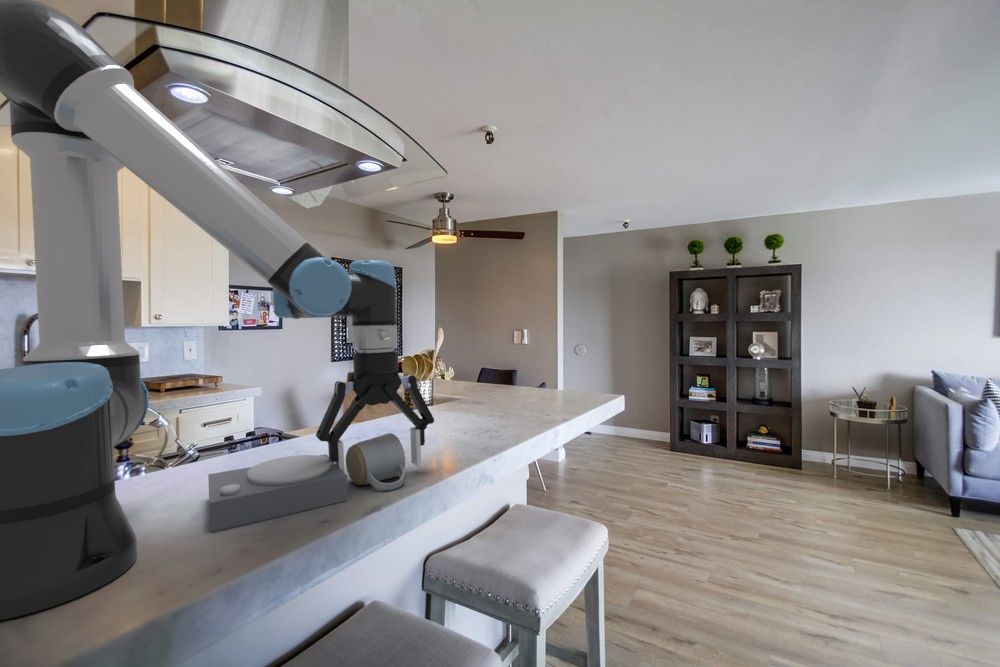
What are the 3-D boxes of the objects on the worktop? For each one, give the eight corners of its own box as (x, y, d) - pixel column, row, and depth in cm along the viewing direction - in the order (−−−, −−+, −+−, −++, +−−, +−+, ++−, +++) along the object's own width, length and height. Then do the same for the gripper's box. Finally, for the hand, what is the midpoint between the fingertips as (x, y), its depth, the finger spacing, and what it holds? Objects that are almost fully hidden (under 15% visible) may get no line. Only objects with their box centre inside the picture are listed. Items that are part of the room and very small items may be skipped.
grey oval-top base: (210, 532, 61) (209, 495, 60) (209, 498, 73) (208, 467, 72) (347, 500, 71) (346, 469, 70) (326, 475, 82) (325, 448, 82)
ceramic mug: (343, 481, 79) (342, 438, 79) (384, 469, 85) (384, 429, 85) (373, 498, 72) (372, 450, 72) (417, 484, 78) (416, 440, 77)
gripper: (302, 356, 69) (308, 494, 69) (449, 347, 82) (453, 462, 83) (294, 354, 75) (299, 480, 76) (432, 346, 89) (435, 453, 89)
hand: (380, 471), depth 79 cm, fingers open, 13 cm apart
